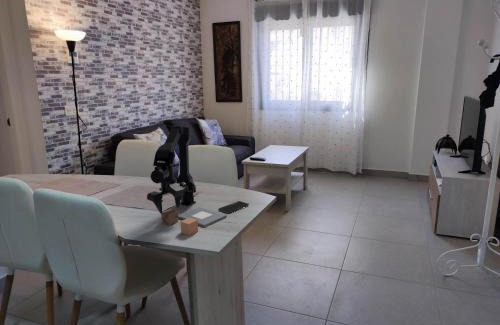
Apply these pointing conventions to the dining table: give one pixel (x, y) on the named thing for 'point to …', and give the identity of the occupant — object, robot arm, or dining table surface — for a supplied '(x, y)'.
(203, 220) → the board
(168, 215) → the walnut cube
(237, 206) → the phone
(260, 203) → the dining table surface
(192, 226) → the terracotta cube
